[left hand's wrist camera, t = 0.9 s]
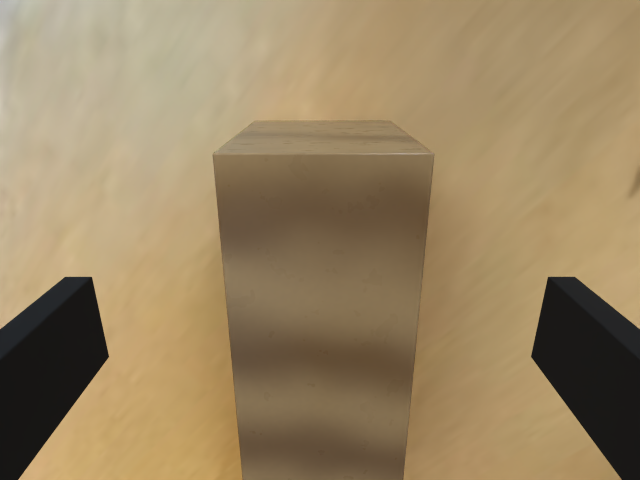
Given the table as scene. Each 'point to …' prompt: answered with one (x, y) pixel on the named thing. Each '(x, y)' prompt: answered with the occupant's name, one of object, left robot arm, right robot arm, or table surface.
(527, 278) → the table surface
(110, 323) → the table surface
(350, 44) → the table surface
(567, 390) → the left robot arm
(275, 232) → the box
